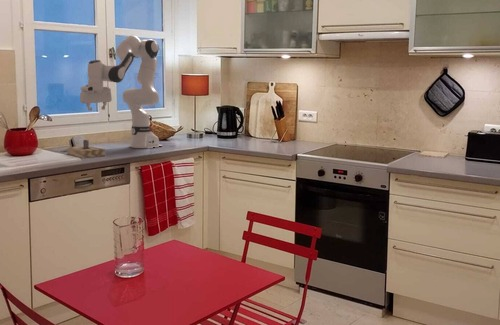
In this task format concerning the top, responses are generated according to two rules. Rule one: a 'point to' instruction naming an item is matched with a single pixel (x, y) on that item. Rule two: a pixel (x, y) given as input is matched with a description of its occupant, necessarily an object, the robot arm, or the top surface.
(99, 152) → the hole block
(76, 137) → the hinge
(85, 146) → the peg
